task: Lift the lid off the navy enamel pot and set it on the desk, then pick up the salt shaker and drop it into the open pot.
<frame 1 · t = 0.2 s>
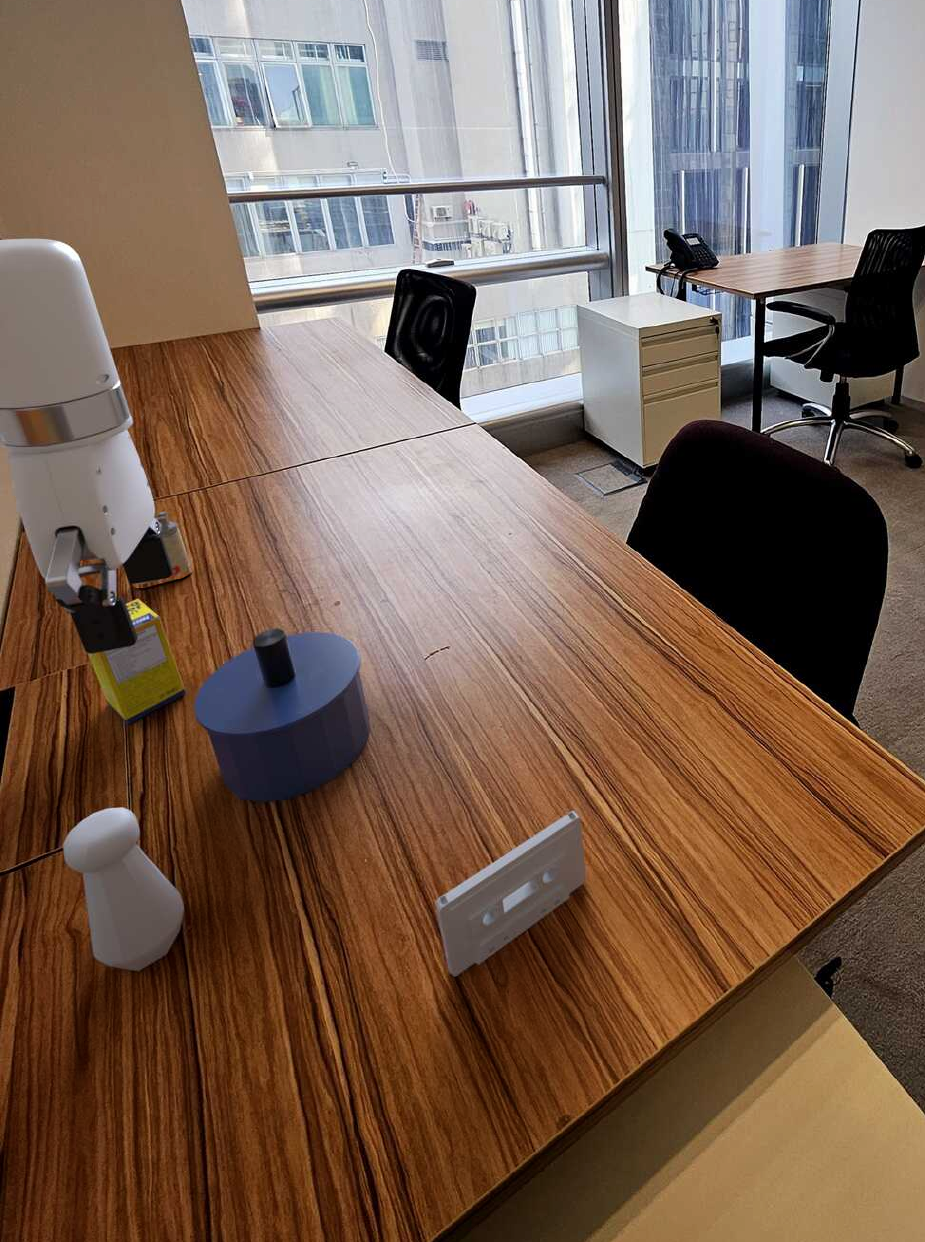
hand: (134, 610, 60), 23 cm above the table, tool pointing down, fingers open, 9 cm apart
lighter: (164, 579, 106), on the table
pot: (299, 746, 77), on the table
pot lid: (281, 682, 74), point 8 cm above the table, touching pot
cassette: (521, 924, 60), on the table
supplement box: (147, 700, 83), on the table
salt shaker: (148, 946, 58), on the table
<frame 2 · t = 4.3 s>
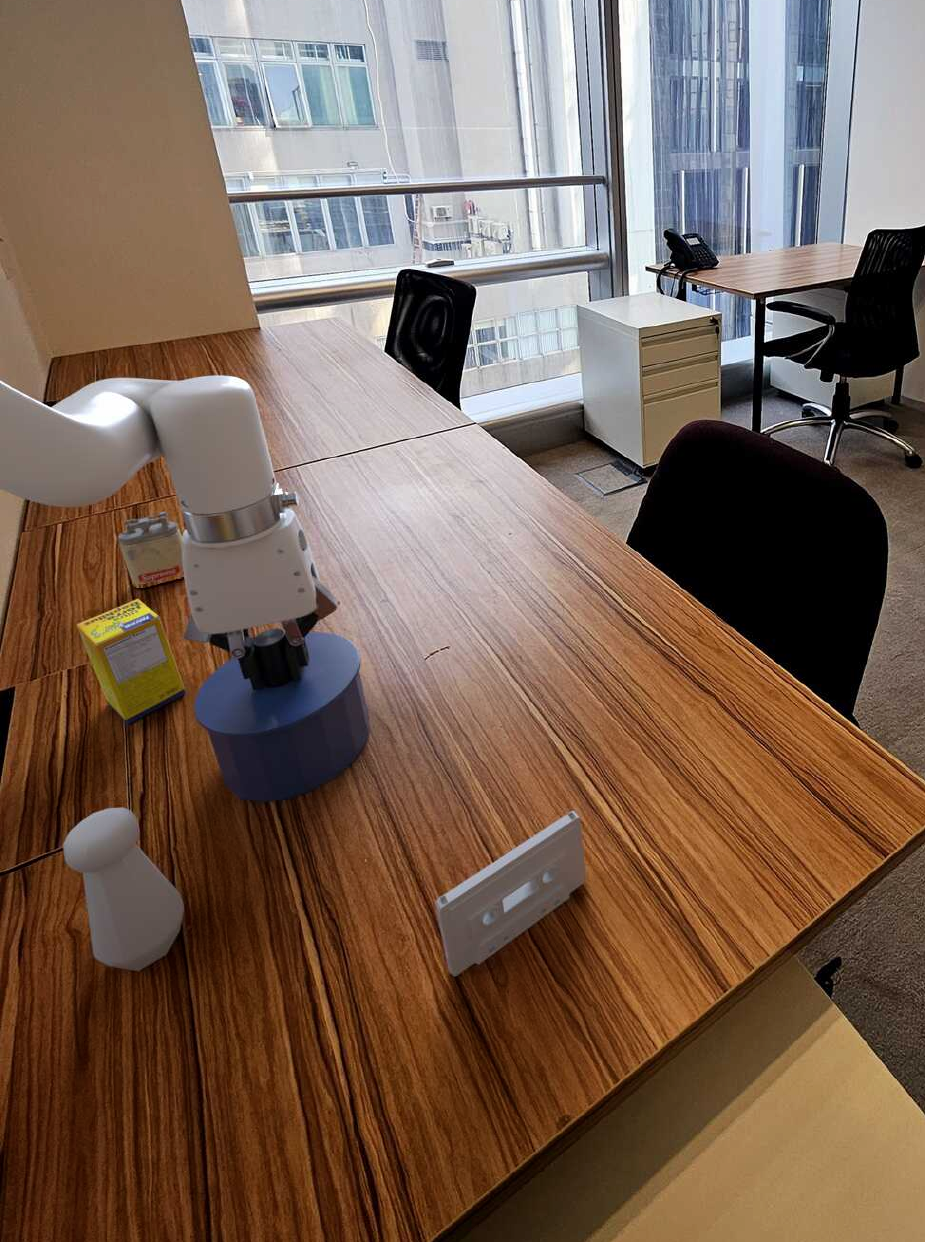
hand: (279, 674, 73), 9 cm above the table, tool pointing down, fingers closed on pot lid, 2 cm apart
pot lid: (281, 682, 74), point 9 cm above the table, touching gripper, pot
everything else where it was.
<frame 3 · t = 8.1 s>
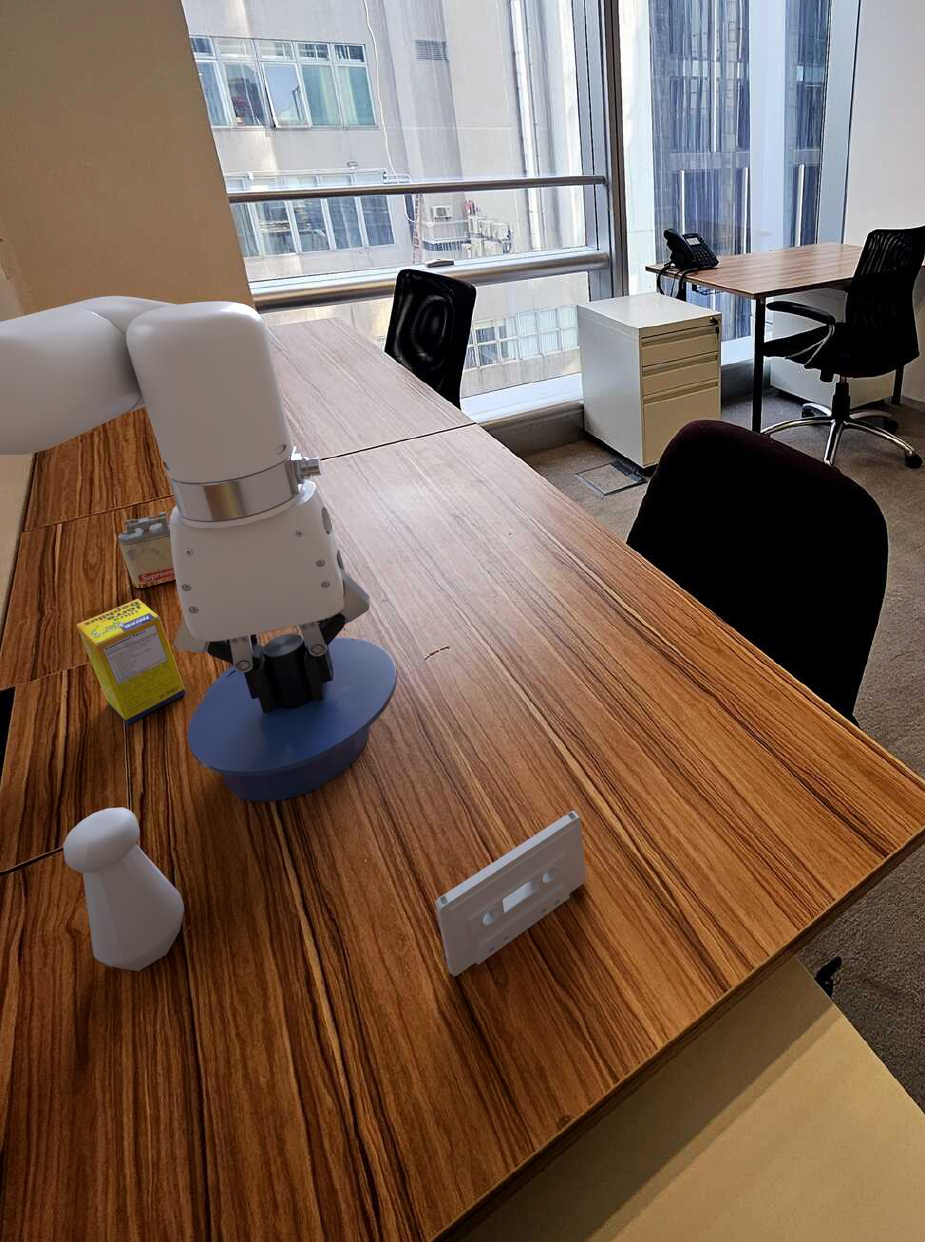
hand: (296, 692, 58), 19 cm above the table, tool pointing down, fingers closed on pot lid, 2 cm apart
pot lid: (298, 701, 58), point 18 cm above the table, touching gripper
everything else where it was.
when the fingers open (1 cm above the table, at t = 12.0 s): pot lid stays where it is, point 1 cm above the table.
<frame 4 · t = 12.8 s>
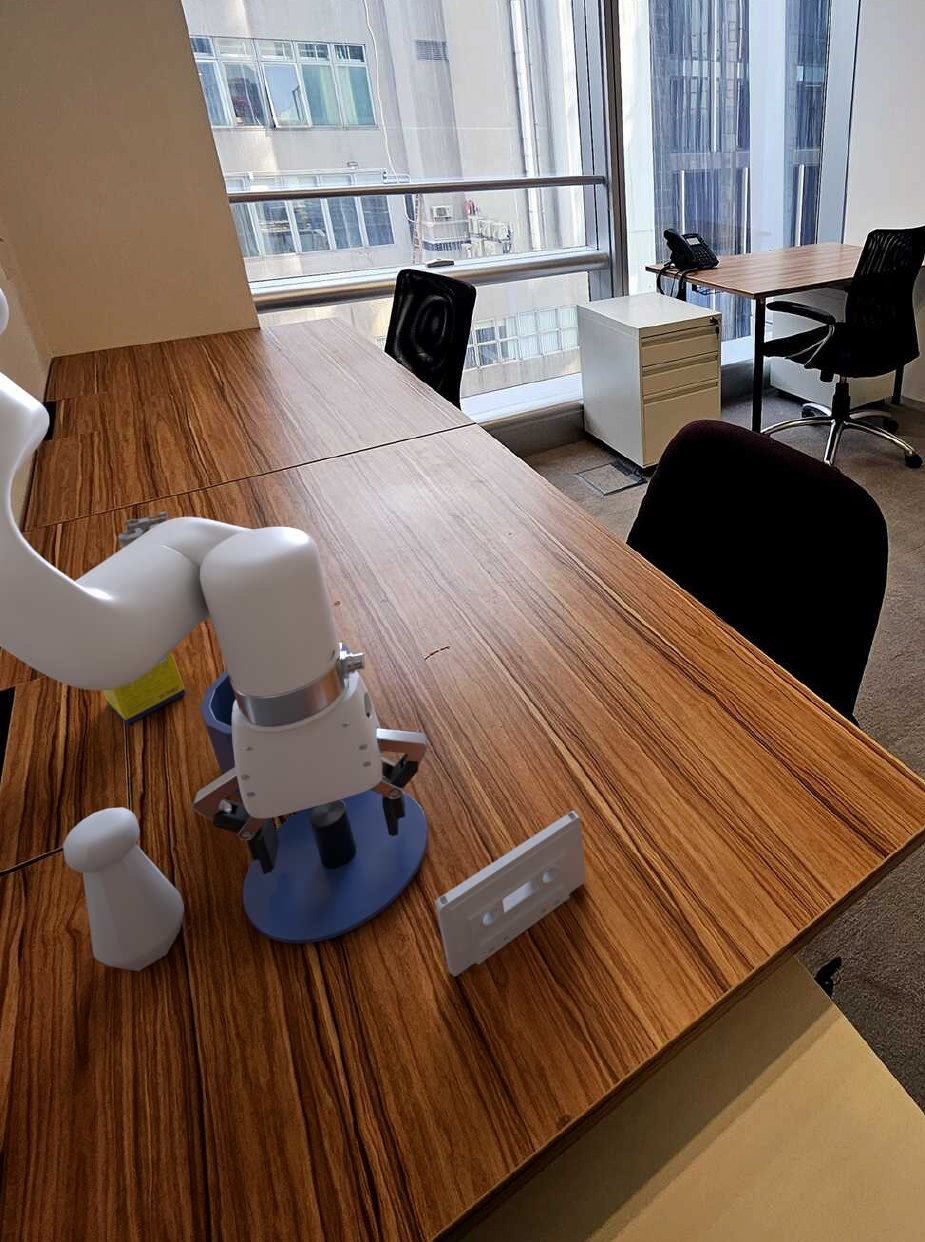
hand: (334, 839, 63), 3 cm above the table, tool pointing down, fingers open, 9 cm apart
pot lid: (340, 858, 64), point 1 cm above the table
everything else where it was.
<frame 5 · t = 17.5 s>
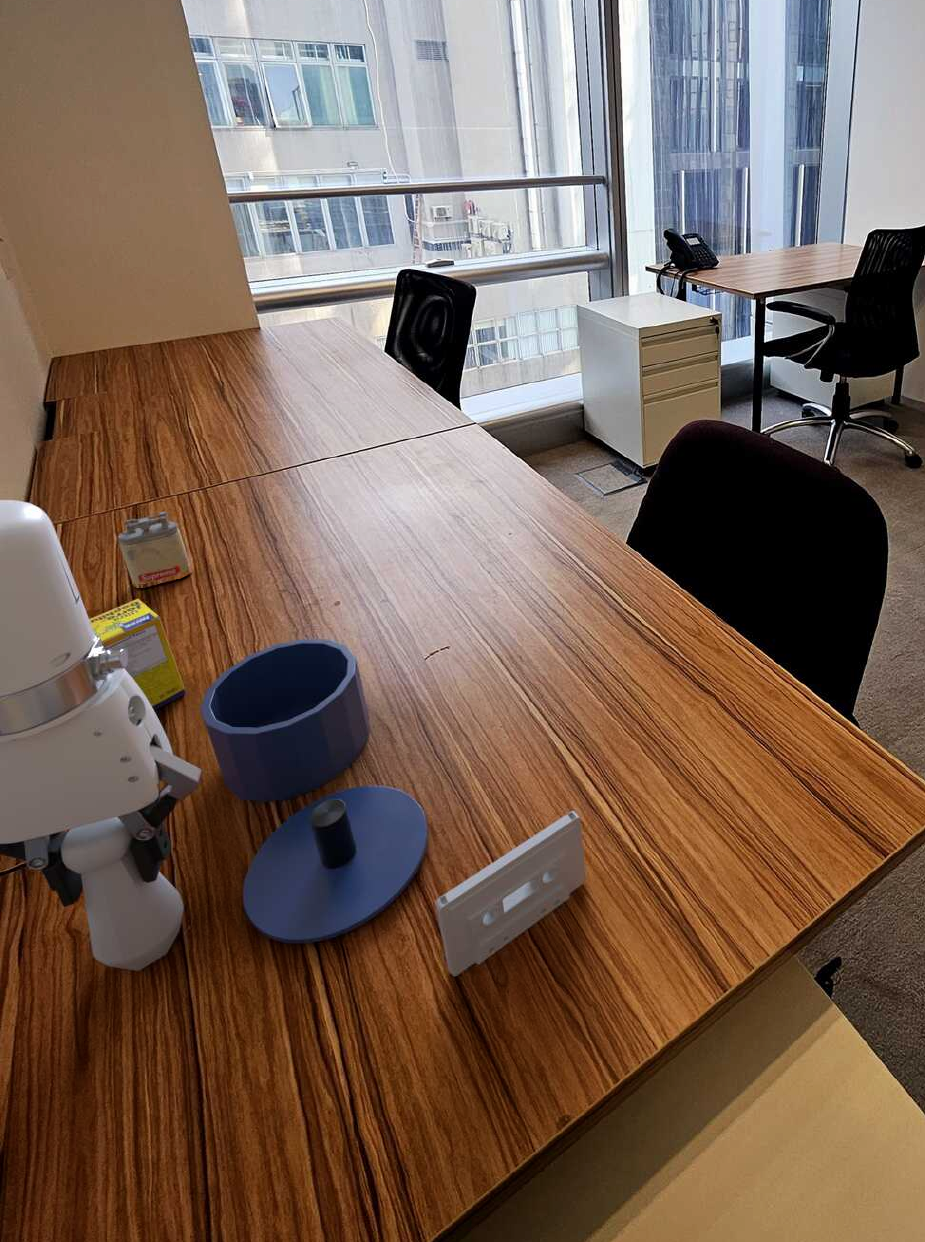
hand: (117, 875, 55), 8 cm above the table, tool pointing down, fingers closed on salt shaker, 4 cm apart
salt shaker: (148, 945, 58), on the table, touching gripper
everything else where it was.
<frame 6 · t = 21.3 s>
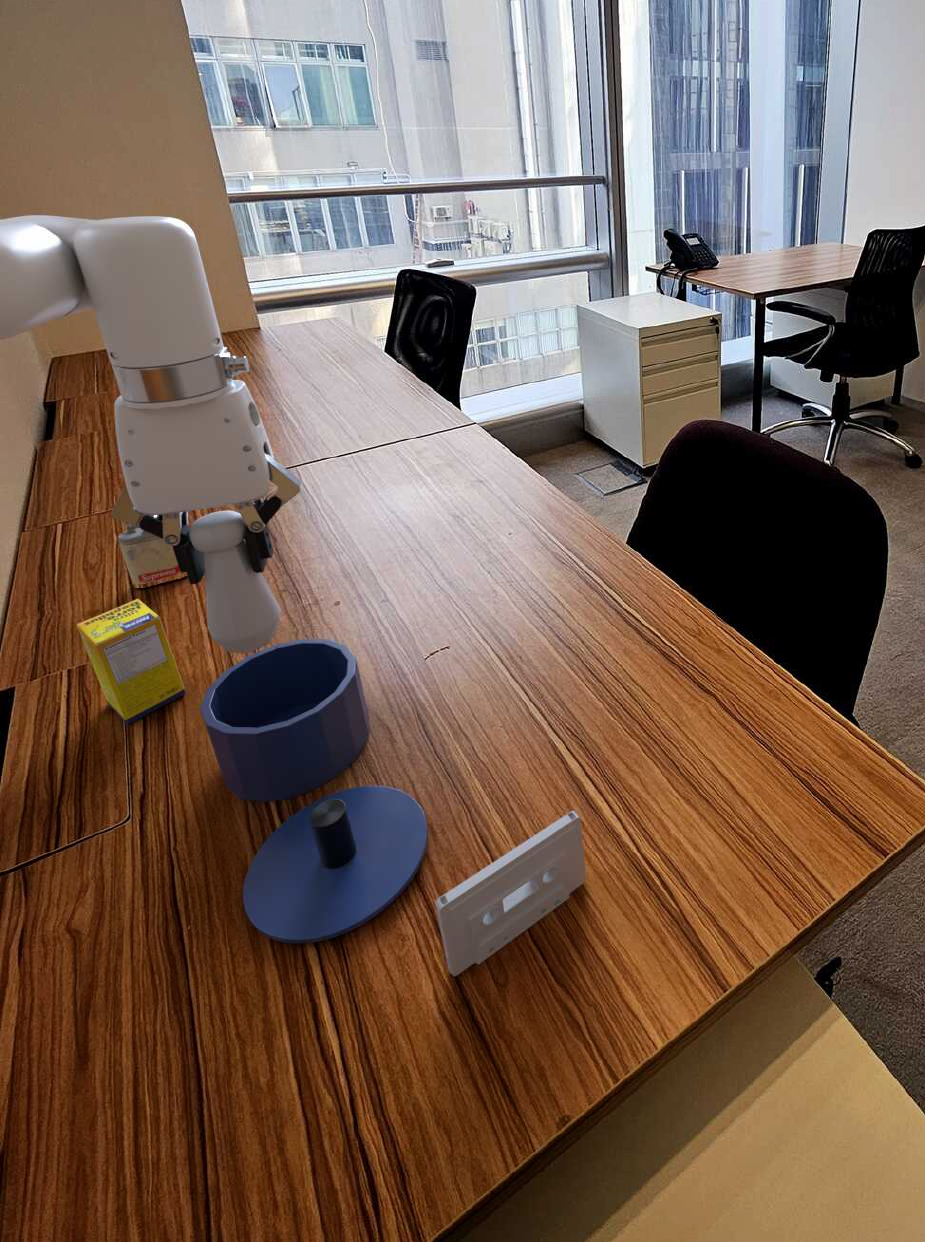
hand: (230, 568, 66), 23 cm above the table, tool pointing down, fingers closed on salt shaker, 4 cm apart
salt shaker: (251, 641, 69), point 15 cm above the table, touching gripper
everything else where it was.
when the fingers open (8 cm above the table, at t = 25.1 s): salt shaker stays where it is, resting on pot.
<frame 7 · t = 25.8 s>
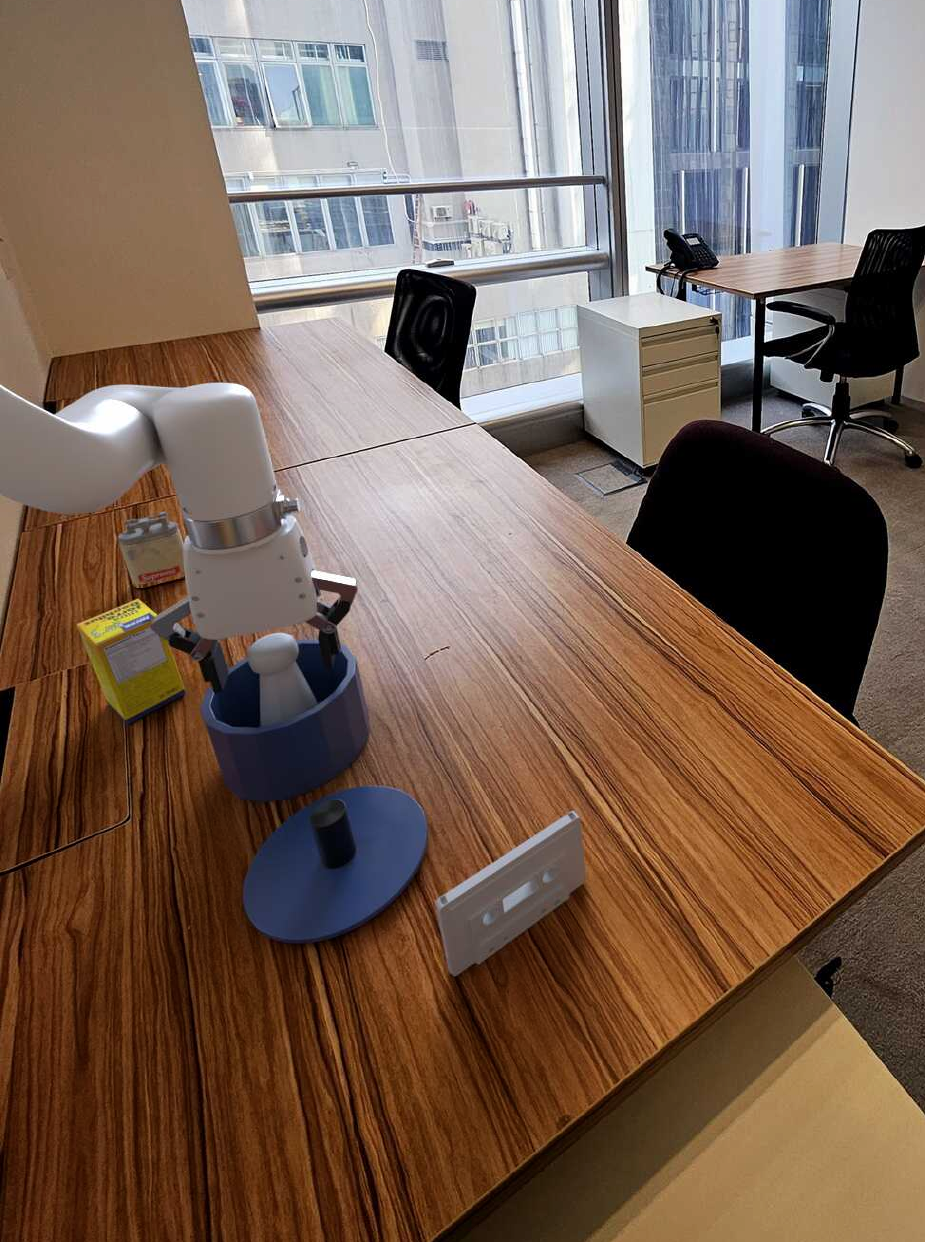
hand: (277, 671, 73), 10 cm above the table, tool pointing down, fingers open, 9 cm apart
salt shaker: (298, 745, 77), resting on pot
everything else where it was.
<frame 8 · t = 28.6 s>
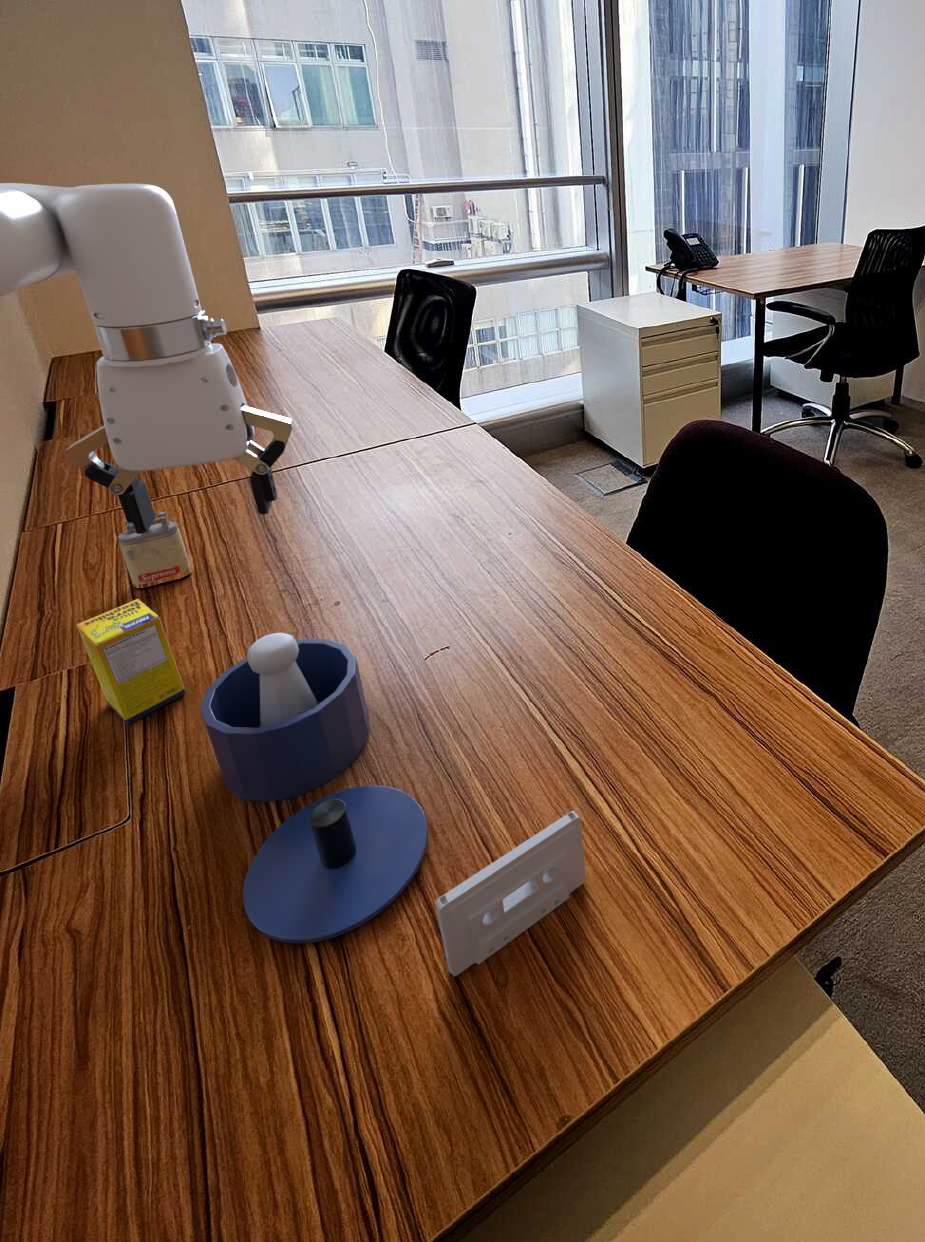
hand: (207, 517, 69), 26 cm above the table, tool pointing down, fingers open, 9 cm apart
nothing on the table moved.
at the end: pot lid inside the target area (0.0 cm from its centre), point 0.6 cm above the table; salt shaker inside the target area in the pot (0.1 cm from its centre), point 0.3 cm above the pot's base; the gripper is holding nothing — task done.
